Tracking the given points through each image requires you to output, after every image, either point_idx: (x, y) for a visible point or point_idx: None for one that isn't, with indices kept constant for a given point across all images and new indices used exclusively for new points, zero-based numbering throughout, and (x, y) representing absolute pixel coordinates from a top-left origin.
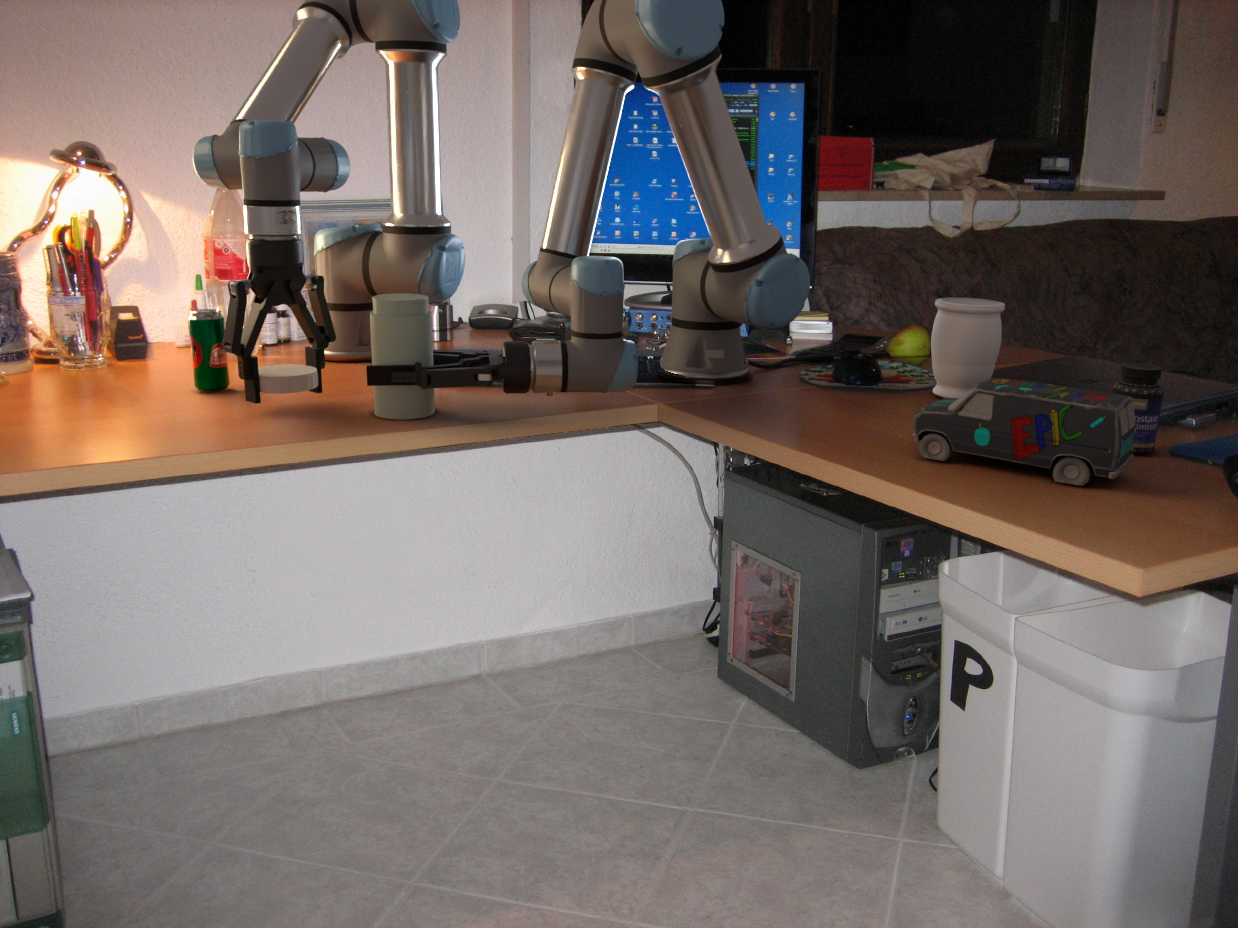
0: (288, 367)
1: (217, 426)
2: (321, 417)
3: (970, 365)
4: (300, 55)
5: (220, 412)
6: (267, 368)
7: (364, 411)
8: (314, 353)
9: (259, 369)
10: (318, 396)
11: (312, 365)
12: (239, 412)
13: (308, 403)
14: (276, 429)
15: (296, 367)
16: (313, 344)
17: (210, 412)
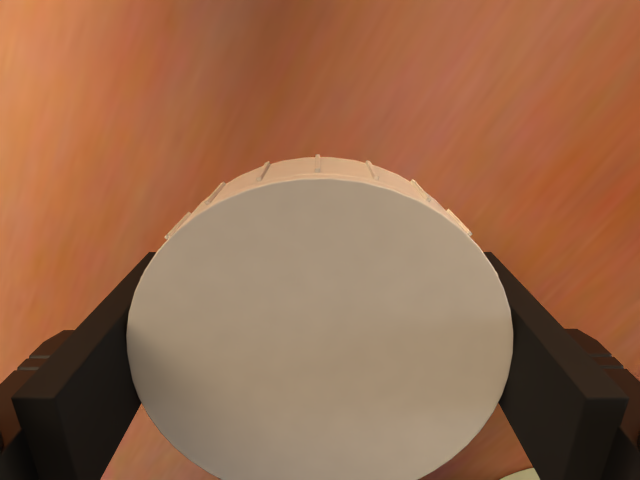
0: (392, 319)
1: (11, 329)
2: None
3: None
4: None
5: (85, 147)
6: (279, 266)
7: (481, 455)
8: (542, 468)
9: (221, 265)
10: (556, 168)
11: (512, 379)
12: (150, 201)
13: None
14: (157, 460)
15: (427, 344)
16: (627, 469)
17: (48, 117)
